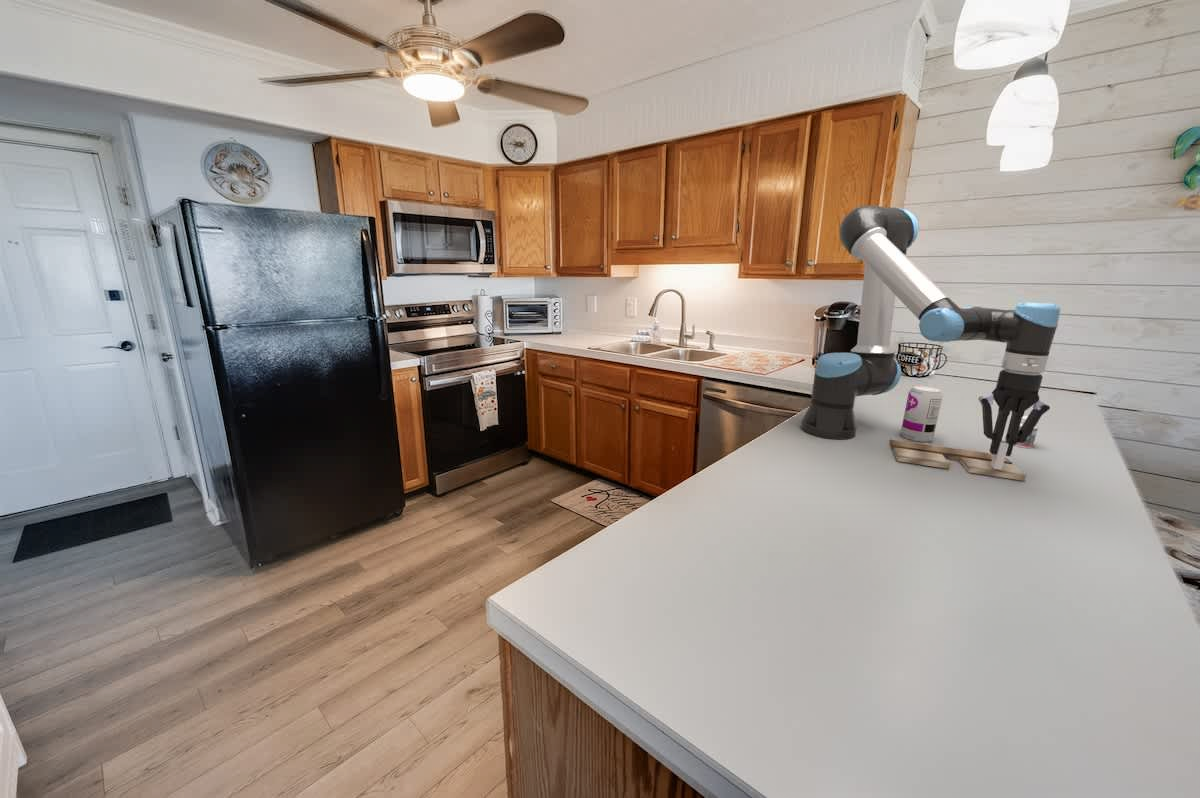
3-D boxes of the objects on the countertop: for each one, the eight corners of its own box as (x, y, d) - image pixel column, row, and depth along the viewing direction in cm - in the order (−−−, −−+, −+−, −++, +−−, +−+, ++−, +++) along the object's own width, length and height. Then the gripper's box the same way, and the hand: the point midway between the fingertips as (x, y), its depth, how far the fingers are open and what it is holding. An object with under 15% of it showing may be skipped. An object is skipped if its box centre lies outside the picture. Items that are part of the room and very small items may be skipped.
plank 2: (968, 472, 117) (969, 466, 116) (959, 461, 124) (960, 455, 124) (1024, 480, 113) (1026, 474, 112) (1012, 469, 120) (1013, 463, 119)
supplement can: (904, 440, 139) (915, 390, 135) (896, 431, 146) (906, 384, 142) (937, 444, 136) (948, 393, 132) (927, 435, 144) (937, 386, 140)
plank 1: (897, 460, 122) (898, 455, 122) (893, 451, 130) (894, 446, 129) (948, 468, 118) (950, 463, 118) (941, 458, 125) (942, 453, 125)
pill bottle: (1007, 443, 138) (1014, 416, 136) (1016, 441, 140) (1023, 414, 138) (1026, 449, 134) (1034, 421, 132) (1035, 447, 136) (1043, 419, 134)
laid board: (892, 450, 130) (893, 445, 130) (889, 443, 136) (890, 438, 135) (1011, 468, 121) (1012, 462, 120) (1002, 460, 126) (1004, 454, 125)
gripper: (991, 371, 108) (967, 467, 115) (1065, 378, 103) (1036, 478, 110) (981, 365, 115) (959, 457, 121) (1050, 371, 110) (1023, 466, 116)
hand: (996, 467), depth 115 cm, fingers closed
